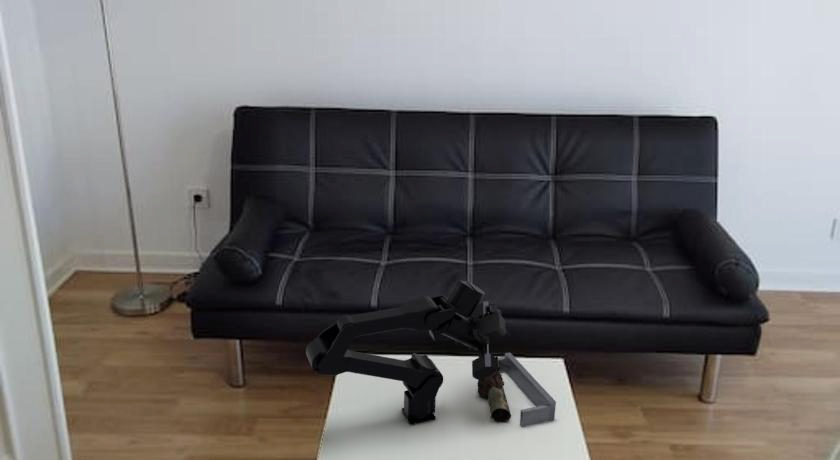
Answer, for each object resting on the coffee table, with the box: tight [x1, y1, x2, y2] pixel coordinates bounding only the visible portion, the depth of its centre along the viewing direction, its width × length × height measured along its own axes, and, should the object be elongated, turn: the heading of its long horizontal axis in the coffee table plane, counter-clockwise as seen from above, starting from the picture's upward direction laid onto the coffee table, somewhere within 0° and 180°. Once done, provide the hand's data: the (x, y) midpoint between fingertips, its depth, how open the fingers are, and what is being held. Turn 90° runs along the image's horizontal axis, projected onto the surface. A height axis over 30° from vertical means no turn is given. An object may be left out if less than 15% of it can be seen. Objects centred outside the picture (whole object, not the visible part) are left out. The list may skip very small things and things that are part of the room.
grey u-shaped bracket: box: [498, 352, 557, 428], centre depth 191 cm, size 8×24×5 cm, turn 20°
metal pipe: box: [476, 371, 512, 424], centre depth 189 cm, size 18×7×6 cm, turn 2°
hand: (509, 352), depth 187 cm, fingers open, 9 cm apart
